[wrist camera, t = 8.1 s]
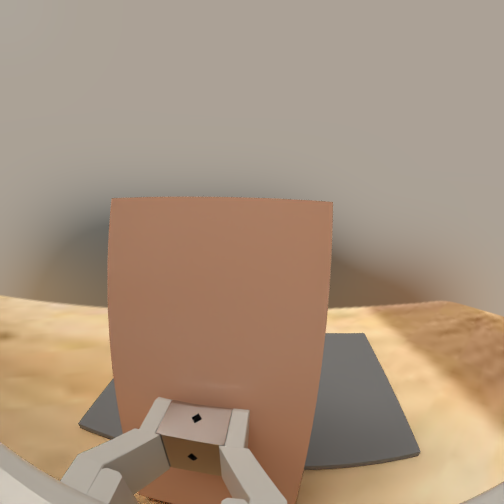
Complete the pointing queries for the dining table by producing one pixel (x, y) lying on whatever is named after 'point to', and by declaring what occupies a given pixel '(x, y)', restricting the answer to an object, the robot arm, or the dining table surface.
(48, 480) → the robot arm
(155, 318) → the orange brown rectangular block
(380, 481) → the dining table surface
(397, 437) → the felt mat
